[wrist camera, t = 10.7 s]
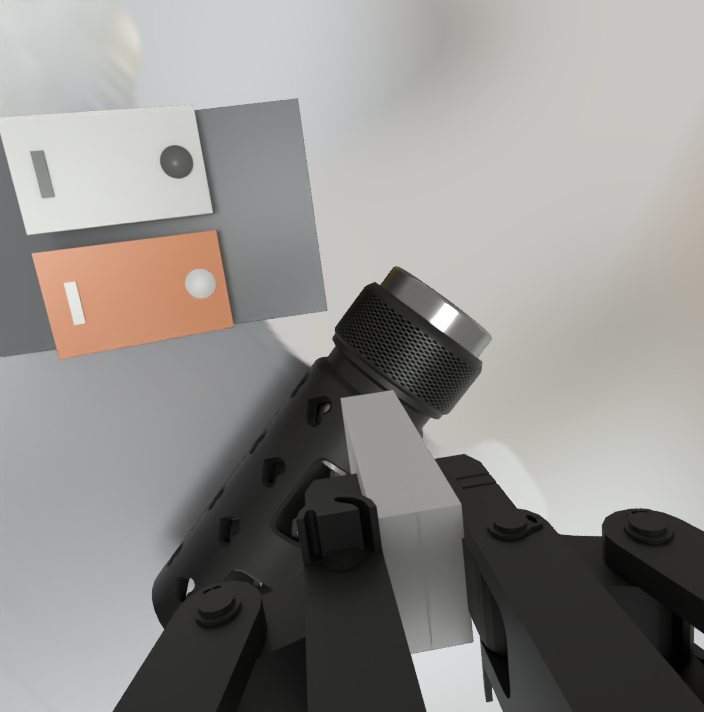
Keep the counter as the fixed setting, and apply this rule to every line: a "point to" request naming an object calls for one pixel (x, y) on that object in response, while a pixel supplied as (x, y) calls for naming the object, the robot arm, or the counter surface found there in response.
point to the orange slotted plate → (133, 292)
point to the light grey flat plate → (106, 167)
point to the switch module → (198, 226)
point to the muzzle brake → (325, 434)
